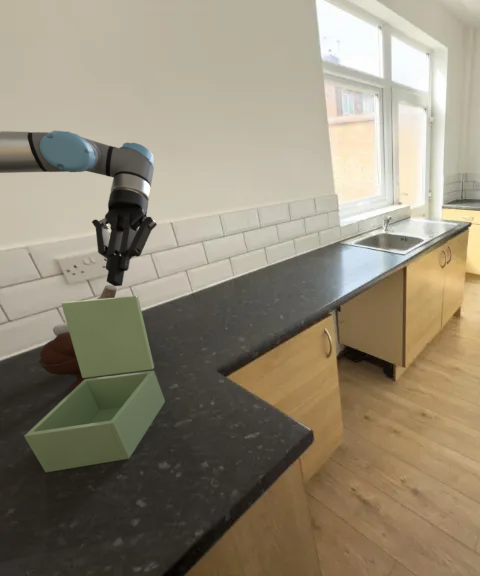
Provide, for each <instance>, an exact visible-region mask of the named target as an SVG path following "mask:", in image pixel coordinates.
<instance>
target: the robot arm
mask: <svg viewBox="0 0 480 576" xmlns="http://www.w3.org/2000/svg"><path fill="white" fill-rule="evenodd" d="M154 168H155V157H154V155H153V152H152V151H150V149H149V148H148V147H146V146H144V145H143V144H140V143H137V142H124V143H122V144H121V145H120V146H119V147H117V146H112V145H108V144H105V143H102V142H98V141H95V140H92V139H89V138H85V137H83V136H80V135H78V134H77V133H73V132H70V131H63V130H51V132H48V131H44V132H43V131H34V132H33V131H32V132H31V131H11V130H7V131H6V130H0V174H12V173H13V174H14V173H15V174H16V173H67V172H68V173H83V172H89V173H93V174H96V175H101V176H106V177H109V178H113V179H112V183H111V187H110V194H109V198H108V203H107V208H108V211H107V212H106V213H105V215H104V218H102V219H99V220H98V219H93V220H92V221H91V223H92V225H93V227H94V228H95V235H96V236H95V237H96V246H97V253H98V254H99V255H101V257H103V258H105V259H106V262H105V269H106V271H107V277H106V282H107V283H108V284H109V285H111V286H114V287H122V286H123V281H124V277H125V276H124V275H125V272H127V271H128V270H129V268H130V263H131V259H133V258H134V257H140V256H141V255H142V252H143V250H144V248H145V246H146V245H147V244H146V243H147V242H148V239H149V237H150V234H151V233H152V231H153V230H154V229H155V228H156V227H157V225H158V224H157V222H156V221H155V220H154V219H153V218H152V216H148V215H147V214H148V207H149V201H150V194H151V189H152V188H151V187H152V181H153V176H154ZM109 226H110V233H109V231H108V230H109Z"/></svg>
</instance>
